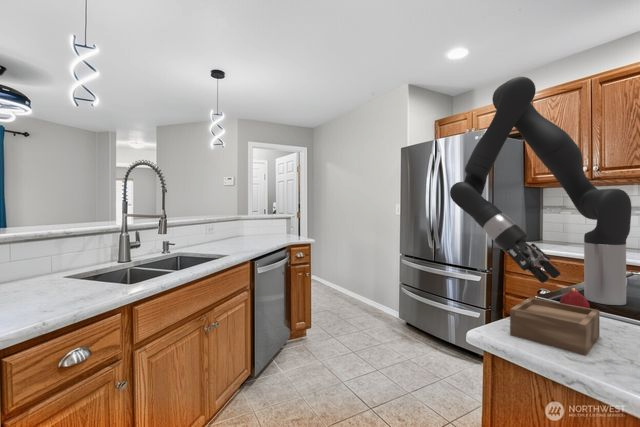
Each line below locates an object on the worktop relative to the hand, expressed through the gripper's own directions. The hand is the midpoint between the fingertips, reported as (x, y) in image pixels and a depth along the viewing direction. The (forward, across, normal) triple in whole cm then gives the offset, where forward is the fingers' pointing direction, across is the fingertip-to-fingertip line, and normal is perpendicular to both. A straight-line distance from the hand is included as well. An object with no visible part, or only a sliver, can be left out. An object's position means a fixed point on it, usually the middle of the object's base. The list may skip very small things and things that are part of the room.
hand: (552, 278), depth 81 cm
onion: (+10, 0, +4) cm, 11 cm away
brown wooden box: (+10, -15, +4) cm, 19 cm away
